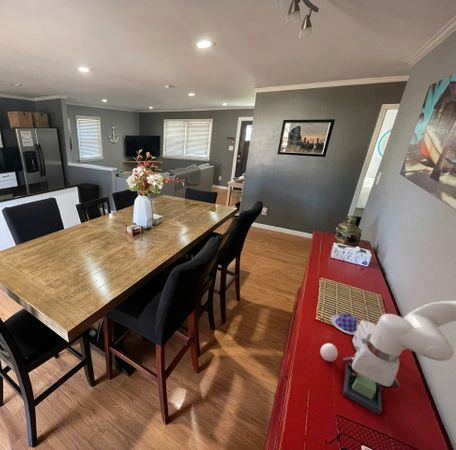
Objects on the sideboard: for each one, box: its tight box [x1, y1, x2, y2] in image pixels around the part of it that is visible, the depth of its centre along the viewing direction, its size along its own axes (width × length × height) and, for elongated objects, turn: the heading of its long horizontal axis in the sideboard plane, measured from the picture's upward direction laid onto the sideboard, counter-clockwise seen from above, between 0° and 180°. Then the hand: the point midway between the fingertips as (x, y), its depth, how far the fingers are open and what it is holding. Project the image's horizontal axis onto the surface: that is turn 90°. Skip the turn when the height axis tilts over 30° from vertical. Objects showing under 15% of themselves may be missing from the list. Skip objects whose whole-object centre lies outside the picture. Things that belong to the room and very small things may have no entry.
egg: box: [319, 342, 339, 362], centre depth 94 cm, size 5×5×8 cm
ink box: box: [351, 319, 377, 352], centre depth 98 cm, size 9×5×12 cm, turn 157°
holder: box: [342, 362, 383, 415], centre depth 86 cm, size 10×18×2 cm, turn 141°
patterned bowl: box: [330, 312, 359, 336], centre depth 111 cm, size 12×12×5 cm
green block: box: [352, 374, 376, 399], centre depth 83 cm, size 5×6×4 cm
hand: (362, 386), depth 84 cm, fingers closed on green block, 5 cm apart
